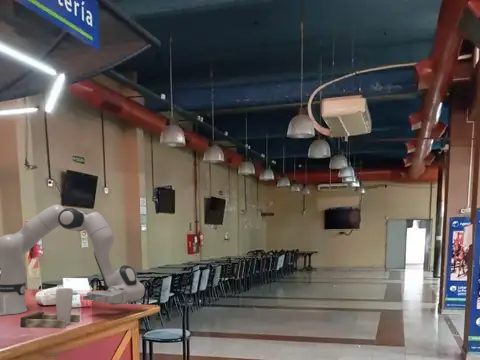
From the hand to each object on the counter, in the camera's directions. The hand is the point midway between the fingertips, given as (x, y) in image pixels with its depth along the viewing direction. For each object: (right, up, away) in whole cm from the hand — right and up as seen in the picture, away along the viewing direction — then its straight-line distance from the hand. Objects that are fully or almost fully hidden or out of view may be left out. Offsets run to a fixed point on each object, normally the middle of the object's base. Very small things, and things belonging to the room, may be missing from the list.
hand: (89, 298), depth 206 cm
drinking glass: (-8, -9, -10) cm, 15 cm away
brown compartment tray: (-14, -9, -9) cm, 19 cm away
